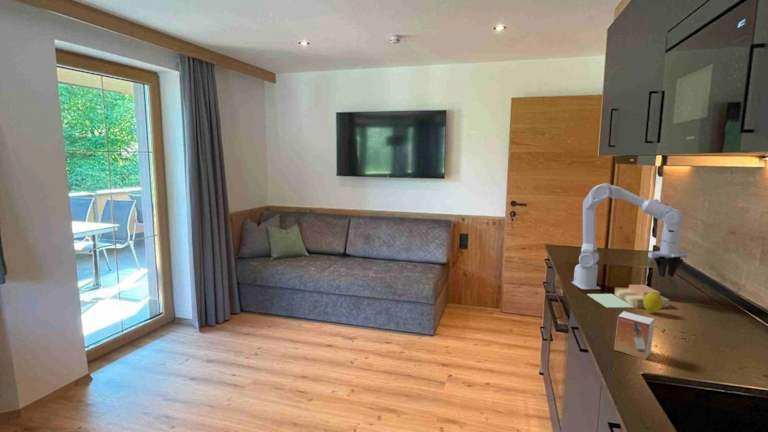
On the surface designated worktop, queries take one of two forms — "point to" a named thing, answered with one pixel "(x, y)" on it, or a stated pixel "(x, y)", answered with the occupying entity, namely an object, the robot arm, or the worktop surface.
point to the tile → (642, 290)
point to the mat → (610, 301)
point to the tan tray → (636, 298)
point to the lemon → (652, 302)
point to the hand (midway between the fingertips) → (666, 276)
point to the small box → (634, 335)
